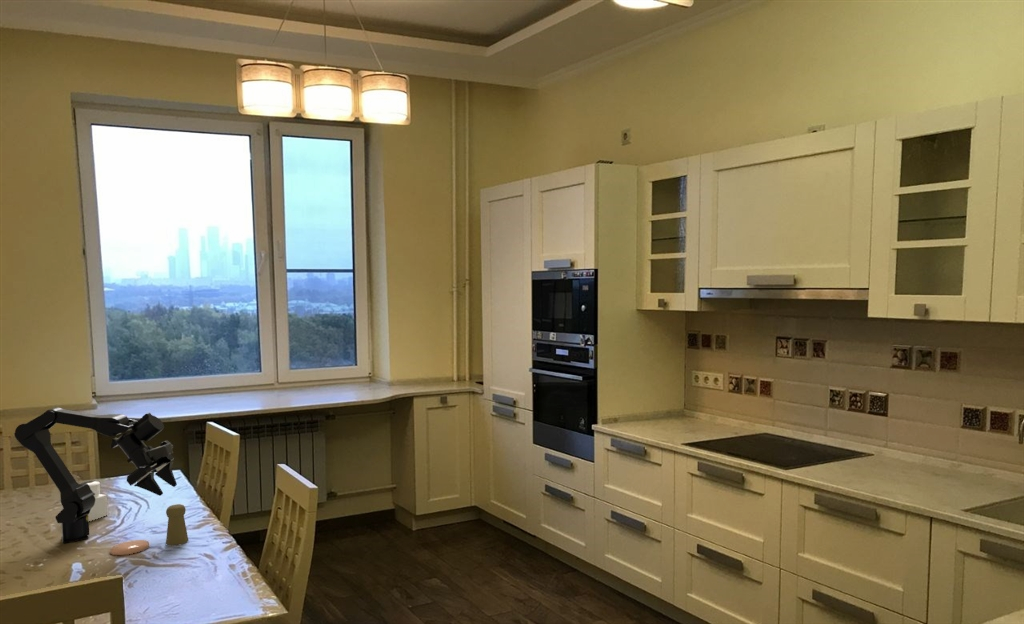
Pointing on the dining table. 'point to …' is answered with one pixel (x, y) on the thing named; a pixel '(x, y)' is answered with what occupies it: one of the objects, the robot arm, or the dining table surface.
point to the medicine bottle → (96, 501)
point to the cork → (176, 525)
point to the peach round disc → (129, 547)
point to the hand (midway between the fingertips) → (168, 490)
